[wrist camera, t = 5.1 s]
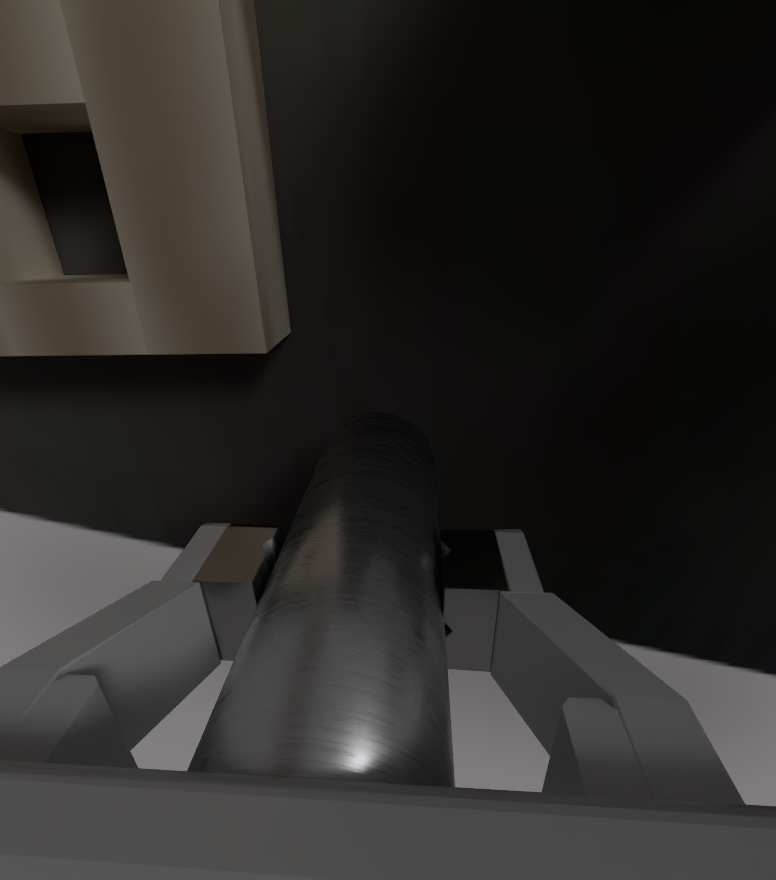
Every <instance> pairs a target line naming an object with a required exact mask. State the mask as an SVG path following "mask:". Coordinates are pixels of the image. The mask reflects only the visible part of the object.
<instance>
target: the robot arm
mask: <svg viewBox="0 0 776 880" xmlns="http://www.w3.org/2000/svg"><path fill="white" fill-rule="evenodd" d="M285 539H286V532H285V529H284V528H283V527H282V526H279V525H256V524H229V523H206V524H204V525H202V526H201V527H200V528H199V529H198V531H197V532H196V533H195V535H194V536H193V538H192V539H191V540H190V542H189V543H188V544H187V546H186V547H185V548H184V550H183V551H182V553H181V554H180V555H179V557H178V558H177V559H176V561H175V562H174V563H173V565H172V566H171V568H170V569H169V570H168V572H167V573H166V574H165V576H164V577H163V578H162V580H161V581H151V582H150V583H148V584H146V585H144V586H143V587H141V588H139V589H137V590H135V591H134V592H132V593H130V594H128V595H127V596H125V597H124V598H121V599H120V600H118V601H116V602H114V603H113V604H111V605H109V606H107V607H106V608H104V609H102V610H100V611H98V612H97V613H95V614H93V615H92V616H90V617H88V618H86V619H84V620H83V621H81V622H79V623H77V624H76V625H74V626H72V627H70V628H69V629H67V630H65V631H63V632H62V633H60V634H58V635H56V636H55V637H53V638H51V639H49V640H47V641H46V642H44V643H42V644H40V645H39V646H37V647H35V648H33V649H32V650H30V651H28V652H26V653H25V654H23V655H21V656H19V657H18V658H16V659H14V660H12V661H10V662H9V663H7V664H5V665H3V666H2V667H0V880H776V807H775V806H757V805H745V803H744V801H743V800H742V798H741V796H740V794H739V793H738V791H737V789H736V787H735V785H734V784H733V782H732V780H731V778H730V776H729V775H728V773H727V771H726V769H725V768H724V766H723V764H722V762H721V760H720V759H719V757H718V755H717V753H716V751H715V750H714V748H713V746H712V744H711V743H710V741H709V739H708V737H707V736H706V734H705V732H704V730H703V728H702V727H701V725H700V723H699V721H698V719H697V718H696V716H695V714H694V712H693V710H692V709H691V707H690V705H689V703H688V702H687V700H686V699H684V698H683V697H682V696H681V695H679V694H678V693H677V692H676V691H674V690H673V689H672V688H671V687H669V686H668V685H667V684H666V683H664V682H663V681H662V680H660V679H659V678H658V677H657V676H655V675H654V674H653V673H652V672H650V671H649V670H648V669H647V668H646V667H644V666H643V665H642V664H641V663H639V662H638V661H637V660H635V659H634V658H633V657H632V656H631V655H629V654H628V653H627V652H626V651H624V650H623V649H622V648H621V647H619V646H618V645H617V644H616V643H614V642H613V641H612V640H611V639H609V638H608V637H607V636H606V635H604V634H603V633H602V632H601V631H599V630H598V629H597V628H596V627H594V626H593V625H592V624H591V623H589V622H588V621H587V620H586V619H584V618H583V617H582V616H581V615H579V614H578V613H577V612H576V611H574V610H573V609H572V608H571V607H570V606H568V605H567V604H566V603H565V602H563V601H562V600H561V599H560V598H558V597H557V596H556V595H555V594H553V593H544V591H543V588H542V585H541V582H540V579H539V577H538V574H537V571H536V568H535V565H534V562H533V559H532V556H531V553H530V550H529V548H528V545H527V542H526V539H525V536H524V533H523V532H522V531H521V530H520V529H493V530H442V529H440V534H439V555H440V569H441V575H442V582H441V589H442V605H443V618H444V622H445V638H446V654H447V669H459V670H473V671H488V672H491V675H492V677H493V678H494V679H495V681H496V682H497V684H498V685H499V686H500V688H501V689H502V690H503V692H504V693H505V695H506V696H507V697H508V698H509V700H510V701H511V703H512V704H513V706H514V707H515V708H516V710H517V711H518V712H519V714H520V715H521V717H522V718H523V719H524V721H525V722H526V724H527V725H528V726H529V728H530V729H531V730H532V732H533V733H534V735H535V736H536V737H537V739H538V740H539V741H540V743H541V744H542V745H543V747H544V748H545V749H546V751H547V752H548V754H549V755H550V760H549V764H548V768H547V772H546V777H545V781H544V785H543V790H542V793H541V792H524V791H508V790H491V789H474V788H457V787H440V786H423V785H406V784H389V783H372V782H356V781H339V780H322V779H305V778H289V777H272V776H255V775H239V774H222V773H206V772H189V771H171V770H156V769H139V768H138V767H137V765H136V763H135V760H134V758H133V756H132V754H131V752H130V750H131V749H132V748H133V747H135V746H136V745H137V744H138V743H139V742H140V741H141V740H142V739H143V738H144V737H145V736H146V735H147V734H148V733H149V732H150V731H151V730H152V729H153V728H154V727H155V726H156V725H157V724H158V723H159V722H160V721H161V720H162V719H164V718H165V716H166V715H167V714H169V713H170V712H171V711H172V710H173V709H174V708H175V707H176V706H177V705H178V704H179V703H180V702H181V701H182V700H183V699H184V698H185V697H186V696H187V695H188V694H189V693H190V692H191V691H192V690H193V689H195V688H196V687H197V685H199V684H200V683H201V682H202V681H203V680H204V679H205V678H206V677H207V676H208V675H209V674H210V673H211V672H212V671H213V670H214V669H215V668H216V667H217V666H218V665H219V664H220V663H221V661H220V660H235V657H236V655H237V652H238V650H239V648H240V645H241V643H242V641H243V638H244V636H245V634H246V631H247V629H248V627H249V624H250V622H251V619H252V617H253V615H254V612H255V610H256V608H257V605H258V603H259V601H260V598H261V596H262V594H263V591H264V589H265V586H266V584H267V582H268V579H269V577H270V575H271V572H272V570H273V568H274V565H275V563H276V561H277V558H278V556H279V554H280V551H281V549H282V546H283V544H284V542H285Z"/></svg>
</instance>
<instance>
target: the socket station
mask: <svg viewBox="0 0 776 880" xmlns="http://www.w3.org/2000/svg"><path fill="white" fill-rule="evenodd" d="M88 131H92V133H93V137H94V141H95V145H96V149H97V153H98V157H99V161H100V165H101V169H102V173H103V177H104V181H105V185H106V189H107V193H108V197H109V201H110V205H111V209H112V213H113V217H114V221H115V225H116V229H117V233H118V237H119V241H120V245H121V249H122V253H123V257H124V261H125V265H126V269H127V273H128V274H113V275H64V273H63V270H62V267H61V263H60V260H59V257H58V254H57V250H56V247H55V244H54V241H53V237H52V234H51V231H50V228H49V224H48V221H47V218H46V214H45V211H44V208H43V205H42V201H41V198H40V195H39V192H38V188H37V185H36V182H35V179H34V175H33V172H32V169H31V165H30V162H29V159H28V156H27V152H26V149H25V146H24V143H23V139H22V136H21V134H27V133H58V132H88ZM289 333H291V330H290V321H289V312H288V303H287V294H286V285H285V276H284V267H283V258H282V249H281V240H280V231H279V222H278V213H277V203H276V194H275V185H274V176H273V167H272V158H271V149H270V140H269V131H268V122H267V113H266V104H265V95H264V86H263V77H262V68H261V59H260V50H259V41H258V32H257V23H256V14H255V5H254V0H0V356H65V355H156V354H247V353H267V352H268V351H270V350H271V349H272V348H273V347H274V346H275V345H277V344H278V343H279V342H280V341H281V340H282V339H284V338H285V337H286V336H287V335H288V334H289Z"/></svg>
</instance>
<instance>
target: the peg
mask: <svg viewBox="0 0 776 880" xmlns="http://www.w3.org/2000/svg"><path fill="white" fill-rule="evenodd" d="M441 582H442V575H441V569H440V555H439V528H438V512H437V497H436V481H435V465H434V455H433V451H432V448H431V445H430V443H429V442H428V440H427V438H426V437H425V435H424V434H423V433H422V432H421V431H420V430H419V429H418V428H417V427H416V426H415V425H413V424H412V423H411V422H409V421H407V420H406V419H403V418H401V417H399V416H396V415H393V414H388V413H379V412H374V413H365V414H360V415H357V416H354V417H352V418H350V419H348V420H346V421H345V422H343V423H342V424H340V425H339V426H338V427H337V428H336V429H335V430H334V431H333V432H332V434H331V435H330V437H329V438H328V441H327V443H326V445H325V447H324V450H323V452H322V455H321V457H320V459H319V462H318V464H317V466H316V469H315V471H314V473H313V476H312V478H311V480H310V483H309V485H308V488H307V490H306V492H305V495H304V497H303V499H302V502H301V504H300V506H299V509H298V511H297V513H296V516H295V518H294V521H293V523H292V525H291V528H290V530H289V532H288V535H287V537H286V539H285V542H284V544H283V546H282V549H281V551H280V554H279V556H278V558H277V561H276V563H275V565H274V568H273V570H272V572H271V575H270V577H269V579H268V582H267V584H266V586H265V589H264V591H263V594H262V596H261V598H260V601H259V603H258V605H257V608H256V610H255V612H254V615H253V617H252V619H251V622H250V624H249V627H248V629H247V631H246V634H245V636H244V638H243V641H242V643H241V645H240V648H239V650H238V652H237V655H236V657H235V660H234V662H233V664H232V667H231V669H230V671H229V674H228V676H227V679H226V681H225V683H224V685H223V688H222V690H221V693H220V695H219V697H218V700H217V702H216V704H215V707H214V709H213V711H212V714H211V716H210V719H209V721H208V723H207V726H206V728H205V730H204V733H203V735H202V738H201V740H200V742H199V744H198V747H197V749H196V752H195V754H194V756H193V758H192V761H191V763H190V766H189V768H188V770H187V771H189V772H206V773H222V774H239V775H255V776H272V777H289V778H305V779H322V780H339V781H356V782H372V783H389V784H406V785H423V786H440V787H455V780H454V765H453V748H452V733H451V717H450V701H449V686H448V670H447V654H446V638H445V622H444V618H443V605H442V589H441Z"/></svg>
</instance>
